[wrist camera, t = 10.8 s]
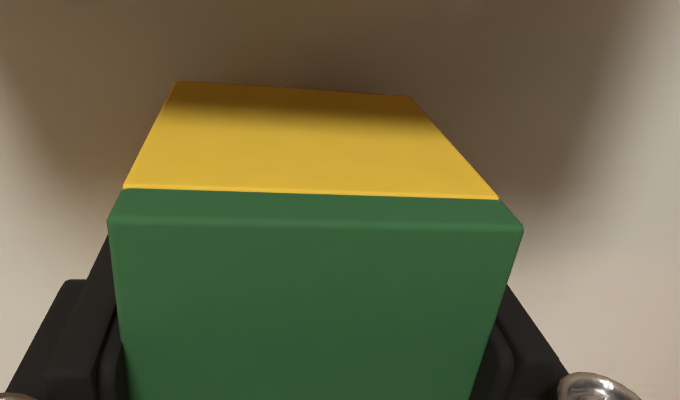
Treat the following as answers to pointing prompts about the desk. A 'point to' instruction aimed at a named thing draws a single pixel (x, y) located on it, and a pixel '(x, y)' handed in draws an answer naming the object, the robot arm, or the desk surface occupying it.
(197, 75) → the desk surface
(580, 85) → the desk surface
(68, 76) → the desk surface
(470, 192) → the sponge
